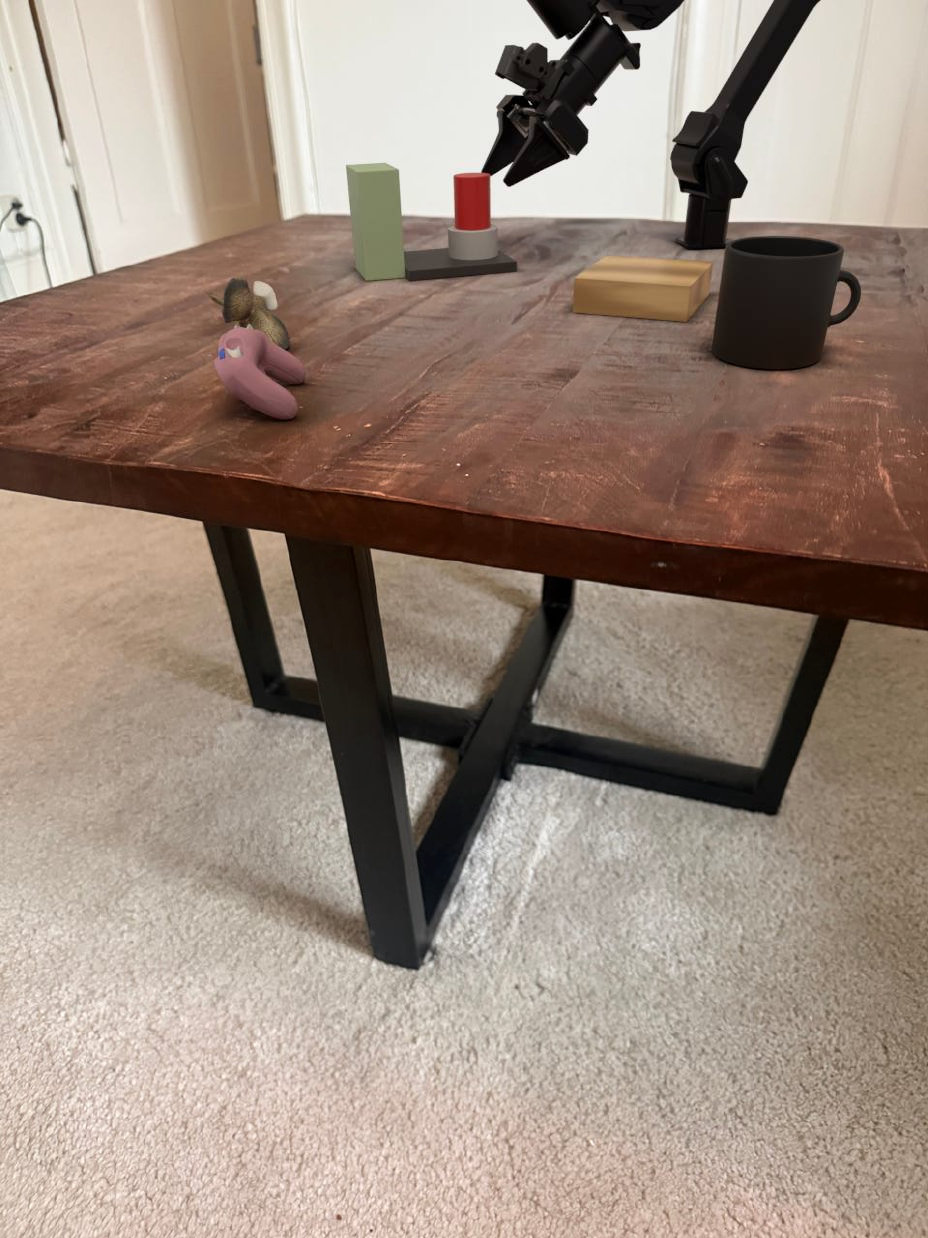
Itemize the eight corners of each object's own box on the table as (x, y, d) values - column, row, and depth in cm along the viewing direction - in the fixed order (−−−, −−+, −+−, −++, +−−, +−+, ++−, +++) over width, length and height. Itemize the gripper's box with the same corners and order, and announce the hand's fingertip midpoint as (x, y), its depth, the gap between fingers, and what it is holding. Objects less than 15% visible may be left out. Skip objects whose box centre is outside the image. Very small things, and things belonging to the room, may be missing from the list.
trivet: (604, 287, 98) (606, 255, 96) (708, 294, 94) (713, 261, 92) (572, 312, 89) (574, 277, 87) (686, 322, 85) (690, 285, 83)
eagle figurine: (190, 329, 83) (206, 333, 75) (216, 259, 82) (235, 256, 74) (263, 362, 87) (285, 369, 79) (288, 296, 86) (313, 296, 78)
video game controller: (267, 400, 73) (216, 328, 69) (311, 374, 72) (262, 300, 69) (253, 443, 65) (195, 365, 61) (302, 415, 64) (247, 333, 60)
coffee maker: (489, 253, 116) (488, 154, 109) (517, 271, 106) (518, 163, 99) (352, 265, 112) (343, 163, 105) (369, 284, 102) (359, 173, 95)
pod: (453, 224, 109) (451, 173, 106) (488, 223, 110) (488, 171, 106) (456, 231, 106) (455, 177, 102) (492, 229, 106) (492, 176, 102)
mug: (867, 369, 71) (895, 255, 66) (724, 371, 72) (741, 258, 66) (829, 337, 79) (852, 233, 74) (701, 340, 79) (714, 236, 74)
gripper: (512, 17, 105) (430, 124, 108) (568, 10, 90) (470, 134, 93) (568, 90, 111) (488, 188, 114) (629, 95, 96) (535, 208, 99)
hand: (494, 179), depth 105 cm, fingers open, 9 cm apart
